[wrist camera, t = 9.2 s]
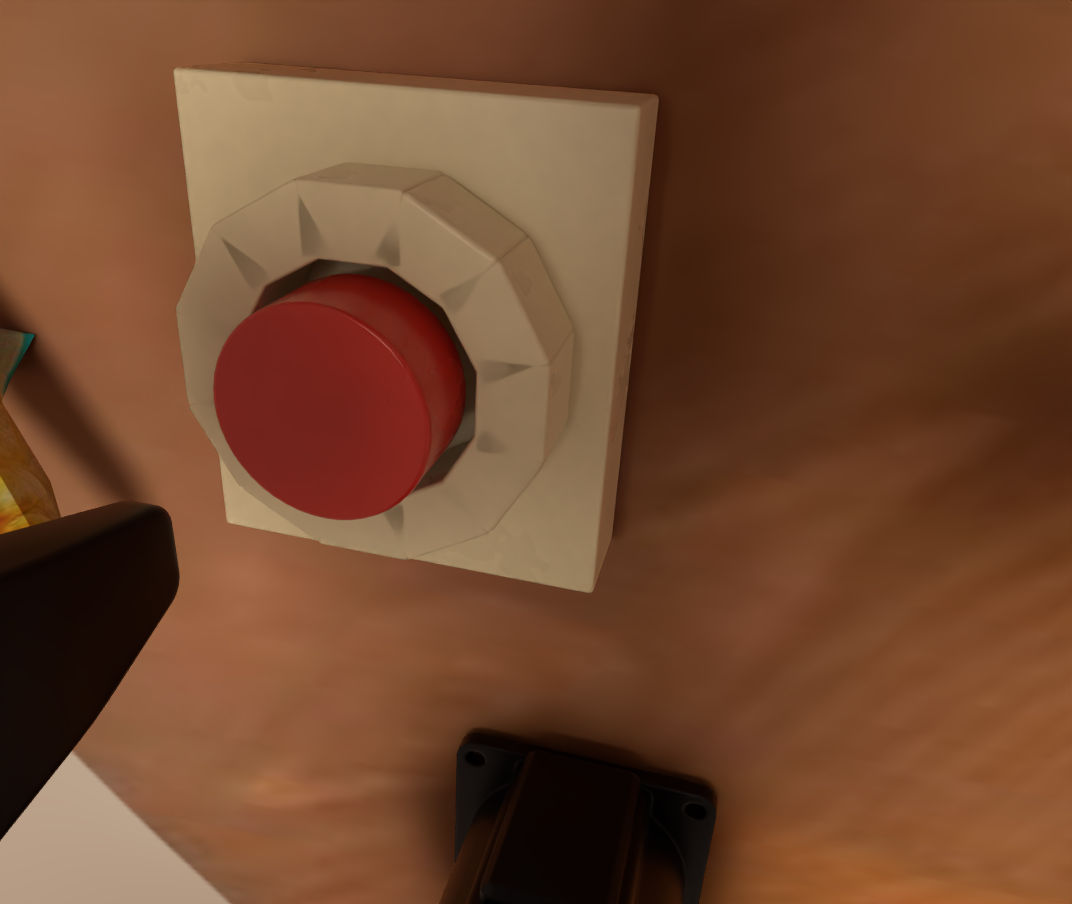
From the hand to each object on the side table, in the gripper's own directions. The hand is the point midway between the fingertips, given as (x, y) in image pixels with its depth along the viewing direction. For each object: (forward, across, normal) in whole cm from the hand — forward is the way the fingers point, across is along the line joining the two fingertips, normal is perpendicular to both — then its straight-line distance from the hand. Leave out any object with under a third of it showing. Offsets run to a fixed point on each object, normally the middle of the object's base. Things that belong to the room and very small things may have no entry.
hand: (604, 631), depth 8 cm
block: (+10, +5, +1) cm, 11 cm away
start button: (+6, +5, +1) cm, 8 cm away
